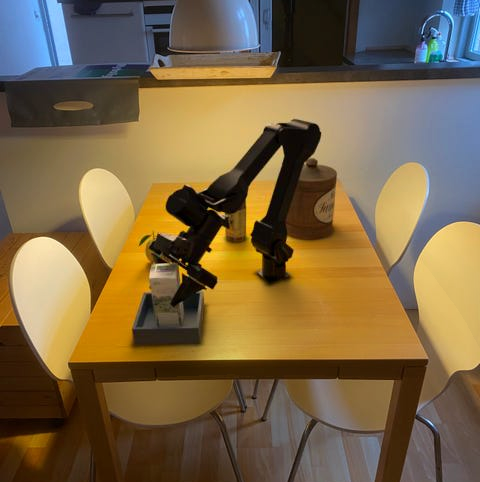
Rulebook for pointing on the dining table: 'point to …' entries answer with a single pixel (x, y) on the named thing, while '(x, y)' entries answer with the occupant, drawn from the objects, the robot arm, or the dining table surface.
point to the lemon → (147, 250)
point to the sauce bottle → (237, 224)
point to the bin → (151, 334)
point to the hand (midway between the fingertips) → (161, 297)
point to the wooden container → (313, 202)
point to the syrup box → (166, 294)
